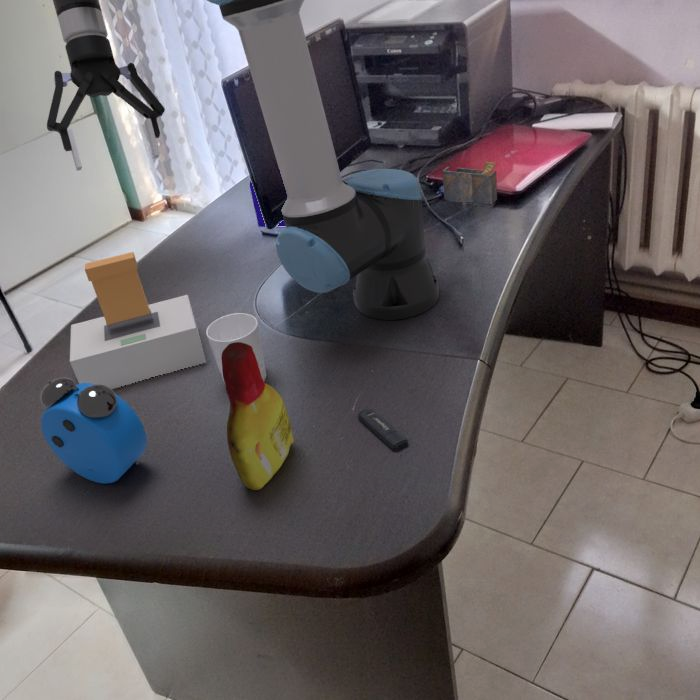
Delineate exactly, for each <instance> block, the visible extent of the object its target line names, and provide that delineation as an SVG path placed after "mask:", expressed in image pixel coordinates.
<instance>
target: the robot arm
mask: <svg viewBox="0 0 700 700" xmlns="http://www.w3.org/2000/svg"><path fill="white" fill-rule="evenodd" d="M206 1H208V2H209V3H211V4H214V5H216V6H218V7H219V12H220V14H221V17H222V19H223V20H224V21H225V22H227V23H228V24H230V25H232V26H233V27H234V28H235V29H236V30H237V31H238V35H239V38H240V41H241V44H242V47H243V51H244V54H245V59H246V61H247V65H248V69H249V71H250V75H251V78H252V82H253V85H254V90H255V92H256V96H257V98H258V103H259V106H260V109H261V112H262V115H263V119H264V123H265V126H266V129H267V133H268V136H269V139H270V142H271V146H272V149H273V153H274V157H275V160H276V162H277V166H278V169H279V170H280V174H281V177H282V180H283V184H284V187H285V190H286V194H287V200H286V201H285V203H284V205H283V207H282V209H281V212H282V215H283V219H284V222H285V226H286V227H283V229H282V230H280V232H279V233H278V235H277V236H276V237H277V238H276V241H275V250H276V254H277V257H278V259H279V261H280V263H281V265H282V267H283V269H284V270H285V271H286V273H287V274H288V275H289V276H290V277H291V279H292V280H294V281H296V282H297V284H298V285H300V286H301V287H303V288H305V289H306V290H307V291H308V290H309V291H310V292H314V293H320V294H323V293H329V292H332V291H333V290H335V289H336V288H338V287H340V286H344V285H346V284H347V283H348V282H350V280H352V279H353V278H354V277H356V280H355V281H356V282H355V283H354V285H353V290H352V292H353V293H352V296H353V302H354V306H355V309H356V310H357V311H358V312H359V313H361V314H362V315H363V316H367V317H369V318H371V319H376V320H385V321H389V320H390V321H395V320H397V321H398V320H402V319H403V320H404V319H408V318H413V317H416V316H419V315H421V314H422V313H425V312H427V311H429V310H430V309H431V308H433V306H435V305H436V303H437V302H438V300H439V297H440V291H439V283H438V278H437V276H436V275H435V272H434V271H433V267H432V266H431V263H430V260H429V259H428V256H427V254H426V242H425V230H424V216H423V201H422V200H423V195H422V194H421V188H420V182H419V180H418V177H416V175H414V174H413V173H411V172H409V171H407V170H402V169H398V168H397V169H395V168H374V169H367V170H361V171H359V172H356V173H354V174H352V175H351V176H349V177H348V179H347V184H346V183H345V182H344V181H343V179H342V178H343V177H342V175H341V171H340V168H339V163H338V159H337V154H336V152H335V147H334V144H333V143H334V142H333V140H332V135H331V132H330V129H329V128H330V127H329V123H328V120H327V116H326V112H325V108H324V104H323V100H322V96H321V94H320V89H319V85H318V81H317V76H316V73H315V70H314V65H313V61H312V58H311V54H310V49H309V46H308V42H307V38H306V34H305V31H304V27H303V23H302V18H301V14H300V11H301V8H302V6H303V3H304V2H305V0H206ZM52 2H53V5H54V9H55V14H56V17H57V20H58V23H59V24H58V25H59V28H60V32H61V36H62V40H63V42H64V43H65V48H64V49H65V51H66V55H67V59H68V63H69V66H70V72H62V71H60V70H56V71H54V78H53V80H54V84H55V85H54V86H55V87H54V90H53V91H54V92H53V95H52V98H51V99H52V100H51V104H50V109H49V113H48V116H47V117H48V118H47V122H46V128H47V131H48V132H49V131H50V132H57V133H58V134H59V136H60V139H61V142H62V146H63V150H64V151H65V152H71V155H72V157H73V162H74V165H75V169H76V171H82V168H83V166H82V165H83V164H82V162H81V158H80V155H79V152H78V147H77V144H76V139H75V135H74V133H73V132H74V131H73V129H72V128H70V129H69V126H70V125H71V123H72V121H73V119H74V117H75V115H76V114H77V112H78V110H79V108H80V106H81V104H82V103H83V101H84V99H85V97H87V96H88V97H91V98H97V97H99V96H102V97H103V96H104V97H107V96H110V95H111V94H114V95H116V96H117V97H119V98H120V99H121V100H123V101H124V102H125V103H127V105H129V106H130V107H131V108H133V109H134V110H135V111H136V112H137V113H139V114H140V115H141V116H143V117H144V118H145V121H144V127H145V131H146V134H147V137H148V138H147V139H148V142H149V146H150V149H151V154H152V158H153V159H158V158H159V157H160V150H159V146H158V142H157V139H159V138H160V136H161V132H160V128H159V123H158V118H159V117H162V116H163V114H164V113H165V111H166V110H165V107H164V105H163V104H162V103H161V102H160V100H159V99H158V97H156V96H155V94H154V93H153V92H152V91H151V89H150V88H149V86H148V85H147V84H146V83H145V81H143V79H142V77H140V75H139V72H138V71H137V68H136V66H135V63H133V62H129V63H128V64H127V65H124V66H121V67H118V65H117V64H116V61H115V57H114V53H113V50H112V46H111V42H110V39H108V31H107V27H106V23H105V19H104V15H103V11H102V8H101V4H100V0H52ZM120 76H123V77H124V78H125V79H126V80H129V81H130V83H131V85H132V86H133V87H134V88H135V89H136V91H137V92H138V93H139V94H140V95H141V97H142V98H143V100H144V101H145V102H146V103H147V104H148V105H147V104H145V102H143V101H142V100H141V99H139V98H138V97H137V96H136V95H135V94H134V93H132V92H131V91H129V89H127V87H125V86H124V84H123V83H121V82H120V81H119V80H120ZM70 81H71V82H72V83H73V84H74V85H75V86H76V87H77V91H76V93H75V95H74V97H73V99H72V101H71V102H70V104H69V105H68V107H67V110H66V112H65V113H64V115H63V117H62V119H61V120H60V122H57V119H58V114H59V110H60V105H61V102H62V96H63V92H64V88H65V87H67V86H68V84H69V83H68V82H70Z"/></svg>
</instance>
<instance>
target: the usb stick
mask: <svg viewBox="0 0 700 700" xmlns="http://www.w3.org/2000/svg"><path fill="white" fill-rule="evenodd" d="M357 419H358V421H360V422H361V423H362V424H363V425H364V426H365V427H366V428H367V429H368V430H369V431H371V432H372V433H373V434H374V435H375V436H376V437H377V438H378V439H379V440H381V441H382V443H384V444H385V445H386V446H387V447H389V449H390V450H391V451H393V452H398V451H400V450H402V449H404V448H405V447H407V446H408V443H409V441H408V439H407V438H406V437H405V436H403V435H402V434H401V433H400V432H399V431H398V430H396V429H395V428H394V427H392V425H391V424H389V423H388V422H387V421H386V420H385V419H384V418H383V417H381V416H380V415H379V414H378V413H377V412H375V410H373V409H371V408H366V409H364V410H361V411H360V412H358V415H357Z"/></svg>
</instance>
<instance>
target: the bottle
mask: <svg viewBox="0 0 700 700" xmlns="http://www.w3.org/2000/svg"><path fill="white" fill-rule="evenodd" d="M221 360H222V371H223V377H222V379H223V378H224V380H223V383H224V382H225V383H224V386H225V391H226V394H227V395H228V400H229V405H230V406H229V414H228V418H227V422H226V438H227V439H226V441H227V446H228V450H229V454H230V457H231V460H232V463H233V465H234V467H235V470H236V472H237V475H238V477H239V480H240V482H241V483H242V484H243V485H244V486H245V487H246V488H247V489H250V490H253V491H258V490H261V489H262V488H264V486H265V485H267V483H269V481H270V480H271V479H273V476H275V474H276V473H277V472H278V471H279V470H280V468H281V467H282V465H283V463H284V462H285V461H286V459H287V457H288V456H289V451H290V447H291V446H292V444H293V443H294V442H295V439H294V436H293V431H292V425H291V420H290V417H289V414H288V412H287V408H286V405H285V402H284V400H283V398H282V396H281V395H280V393H278V392H277V390H276V389H274V387H273V386H271V385H270V384H268V383H266V382H265V381H263V379H262V377H261V373H260V369H259V367H258V362H257V359H256V357H255V354H254V352H253V349H252V347H251V346H250V345H248V344H245V343H241V342H235V343H231V344H229V345H228V346H227V347H226V348H225V349H224V350H223V352H222V358H221Z"/></svg>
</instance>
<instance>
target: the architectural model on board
mask: <svg viewBox="0 0 700 700" xmlns="http://www.w3.org/2000/svg"><path fill="white" fill-rule="evenodd" d="M496 162H497V161H496V160H495V161H494V162H491V161H489V162H488V160H486V161H485V162H484V169H476V168H467V167H466V168H464V167H456V171H451V170H450V166H447V167H445V168H444V169H443V170H442V183H443V200H444V199H445V200H449V201H456V202H473V203H484V204H493V203H494V202H495V201H496V200H497V201H498V192H497V191H498V190H497V191H496V188H497V189H498V186H497V184H498V183H497V177H498V176H497V170H495V171H493V170H494V169H495V166H496Z"/></svg>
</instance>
